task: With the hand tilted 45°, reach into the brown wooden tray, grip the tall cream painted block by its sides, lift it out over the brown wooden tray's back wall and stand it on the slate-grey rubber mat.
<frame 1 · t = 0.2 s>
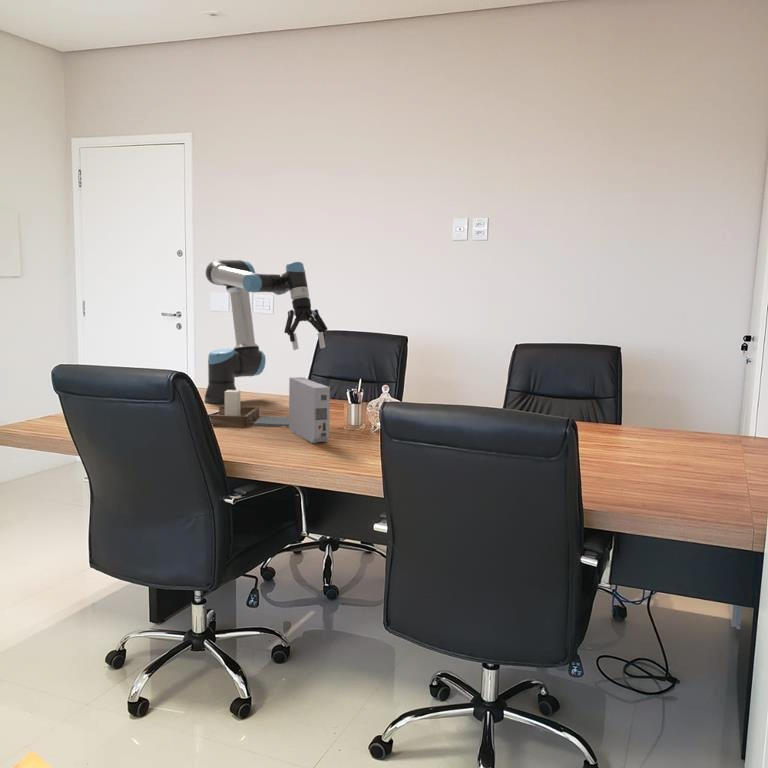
hand: (309, 348, 320), 28 cm above the table, tool tilted 20°, fingers open, 13 cm apart
cream block: (232, 406, 304), in the brown wooden tray
mat: (275, 422, 303), on the table
game console: (308, 437, 279), on the table
brown wooden tray: (232, 421, 304), on the table
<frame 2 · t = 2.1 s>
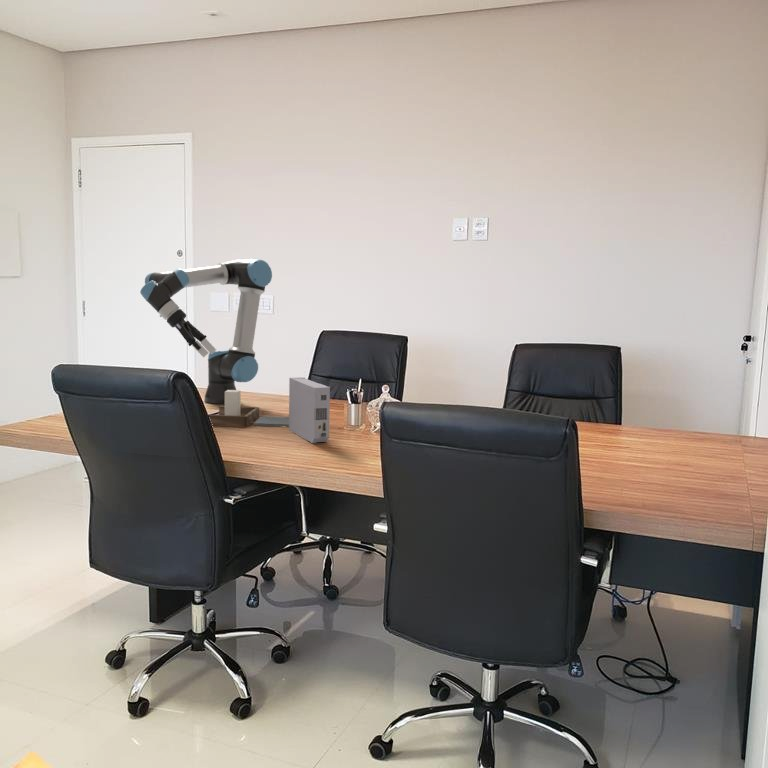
hand: (210, 353, 310), 26 cm above the table, tool tilted 45°, fingers open, 13 cm apart
nothing on the table moved.
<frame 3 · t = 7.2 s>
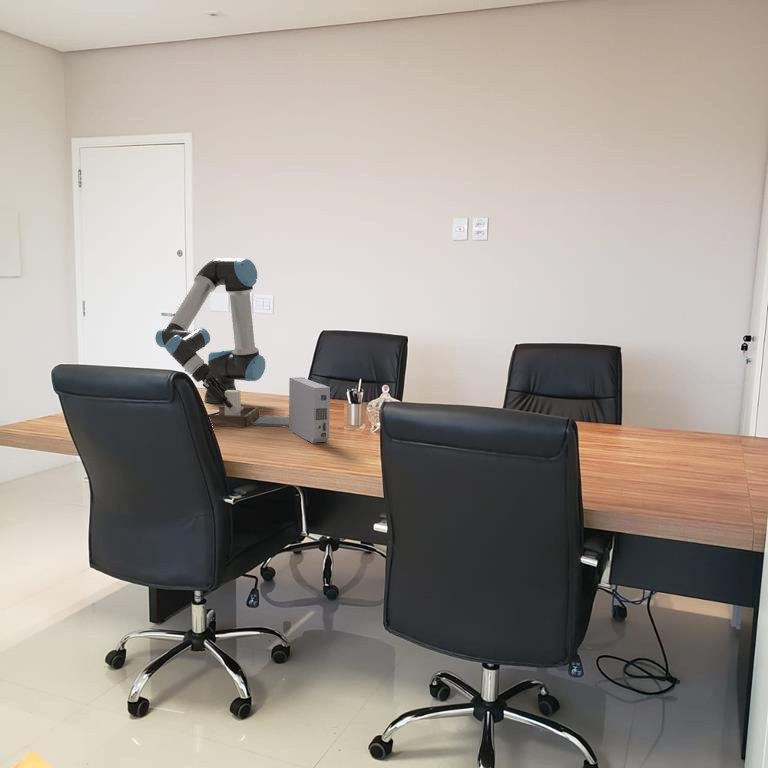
hand: (239, 411, 304), 4 cm above the table, tool tilted 45°, fingers closed on cream block, 5 cm apart
cream block: (232, 406, 304), in the brown wooden tray, touching gripper
everything else where it was.
when the fingers open (7 cm above the table, at t = 13.5 s): cream block drops 2 cm, resting on mat.
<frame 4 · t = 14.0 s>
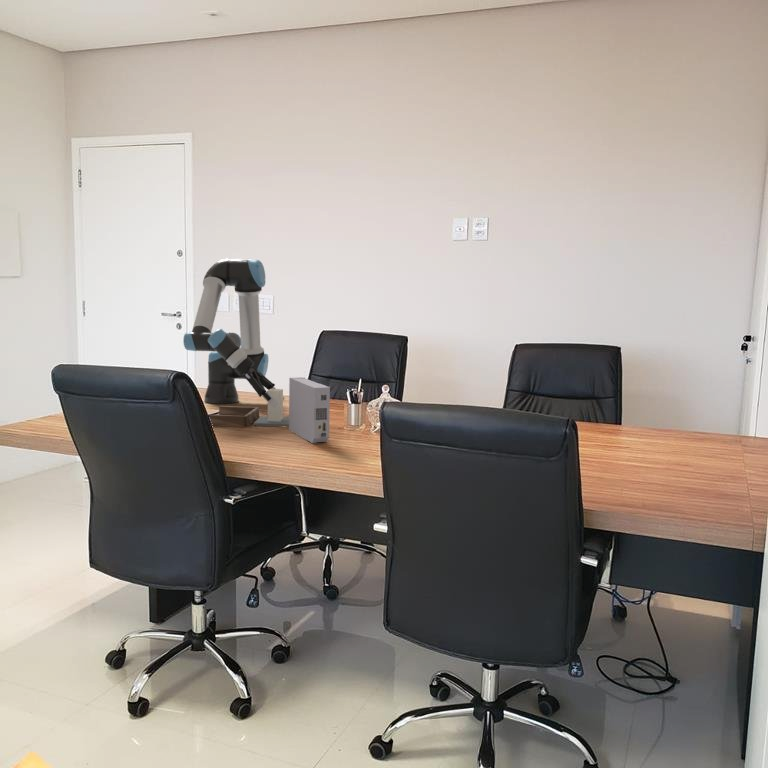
hand: (279, 403, 302), 8 cm above the table, tool tilted 45°, fingers open, 11 cm apart
cream block: (275, 405, 302), on the mat, point 7 cm above the table
everything else where it was.
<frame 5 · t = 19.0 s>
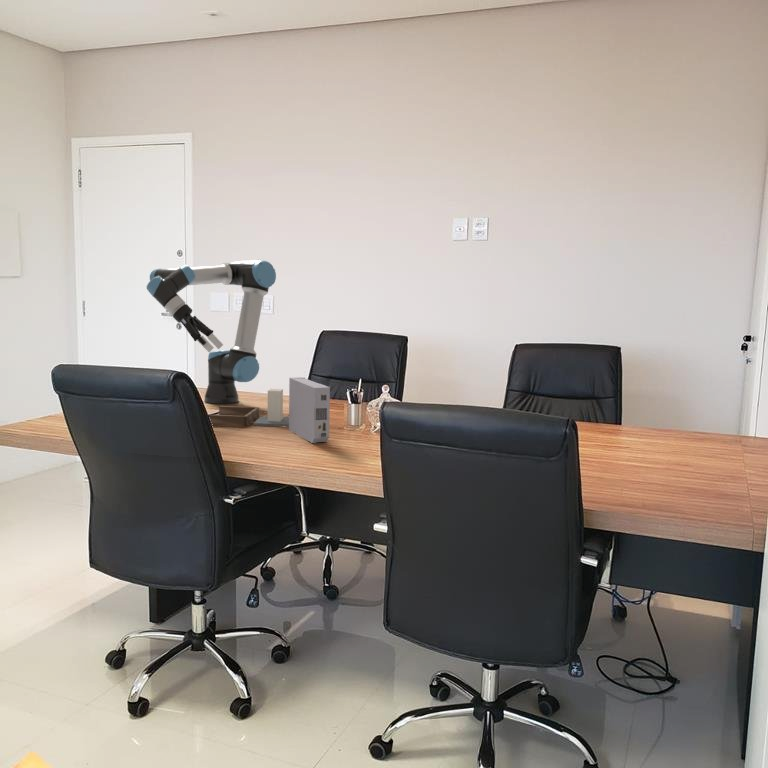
hand: (216, 348, 309), 28 cm above the table, tool tilted 45°, fingers open, 13 cm apart
nothing on the table moved.
at the end: cream block inside the target area on the mat (0.1 cm from its centre), point 7.0 cm above the mat's base; cream block tilted 0°; the gripper is holding nothing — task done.
